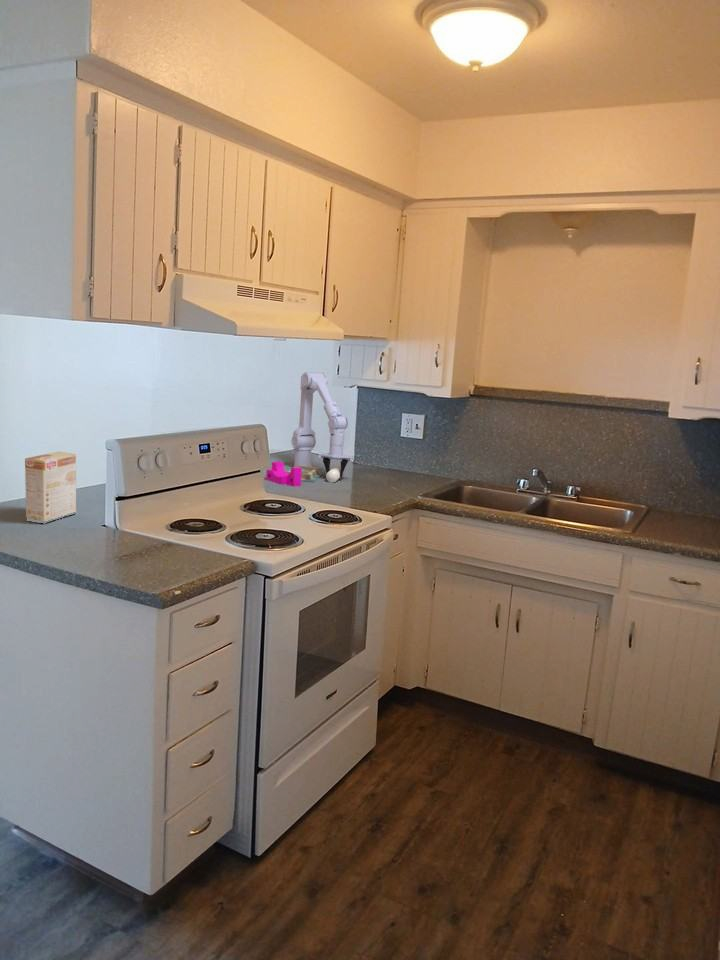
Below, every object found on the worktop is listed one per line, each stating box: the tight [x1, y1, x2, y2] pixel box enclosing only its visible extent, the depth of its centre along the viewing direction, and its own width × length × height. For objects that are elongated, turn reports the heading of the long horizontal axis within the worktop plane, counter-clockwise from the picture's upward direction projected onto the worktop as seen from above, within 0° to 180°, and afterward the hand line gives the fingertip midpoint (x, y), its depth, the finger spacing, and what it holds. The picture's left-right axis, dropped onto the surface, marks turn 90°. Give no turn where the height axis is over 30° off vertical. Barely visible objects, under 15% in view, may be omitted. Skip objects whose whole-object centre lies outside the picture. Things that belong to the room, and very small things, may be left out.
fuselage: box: [325, 465, 341, 483], centre depth 326 cm, size 12×5×5 cm, turn 171°
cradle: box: [285, 465, 324, 483], centre depth 328 cm, size 20×14×3 cm
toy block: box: [265, 461, 302, 487], centre depth 313 cm, size 15×6×8 cm, turn 43°
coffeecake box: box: [24, 451, 77, 521], centre depth 235 cm, size 15×7×20 cm, turn 162°
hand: (334, 476), depth 326 cm, fingers closed on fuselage, 5 cm apart
